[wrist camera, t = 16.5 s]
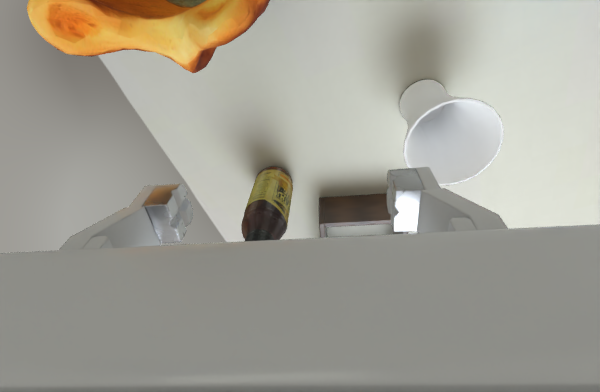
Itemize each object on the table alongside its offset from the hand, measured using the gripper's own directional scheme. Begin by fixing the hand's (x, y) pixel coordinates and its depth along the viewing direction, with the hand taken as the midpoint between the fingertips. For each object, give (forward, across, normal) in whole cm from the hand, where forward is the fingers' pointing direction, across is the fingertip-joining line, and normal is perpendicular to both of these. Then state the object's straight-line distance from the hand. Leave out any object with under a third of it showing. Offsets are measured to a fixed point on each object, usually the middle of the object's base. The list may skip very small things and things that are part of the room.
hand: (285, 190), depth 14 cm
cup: (+37, -15, +11) cm, 42 cm away
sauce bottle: (+37, +8, +22) cm, 44 cm away
